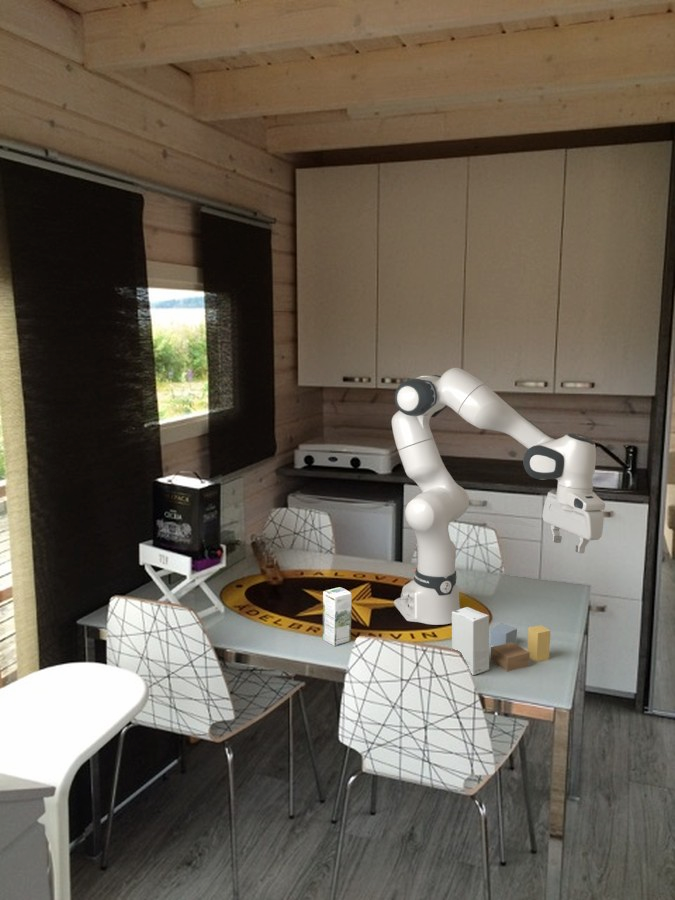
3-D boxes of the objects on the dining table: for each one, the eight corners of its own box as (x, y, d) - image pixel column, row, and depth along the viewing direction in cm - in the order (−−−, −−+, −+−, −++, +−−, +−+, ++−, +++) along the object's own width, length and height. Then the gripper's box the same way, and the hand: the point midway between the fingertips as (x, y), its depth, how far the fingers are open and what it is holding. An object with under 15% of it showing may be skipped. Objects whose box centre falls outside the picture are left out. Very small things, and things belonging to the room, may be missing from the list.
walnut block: (490, 661, 211) (490, 647, 210) (511, 656, 214) (512, 642, 213) (507, 672, 205) (508, 657, 204) (528, 667, 208) (529, 652, 207)
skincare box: (489, 670, 205) (491, 615, 202) (472, 676, 202) (474, 620, 199) (466, 658, 212) (468, 605, 209) (449, 664, 209) (451, 610, 206)
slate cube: (490, 645, 220) (490, 628, 220) (500, 640, 224) (501, 623, 223) (505, 651, 217) (506, 633, 216) (516, 645, 220) (517, 628, 219)
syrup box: (338, 634, 226) (339, 585, 224) (351, 642, 222) (352, 592, 219) (322, 639, 223) (322, 590, 220) (334, 647, 218) (335, 596, 216)
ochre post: (527, 655, 214) (528, 627, 212) (539, 653, 216) (540, 625, 214) (536, 661, 210) (538, 633, 209) (548, 659, 212) (550, 630, 210)
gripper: (539, 487, 219) (534, 537, 221) (590, 506, 200) (583, 559, 202) (558, 487, 221) (553, 536, 223) (610, 505, 203) (603, 558, 205)
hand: (568, 547), depth 213 cm, fingers open, 8 cm apart
